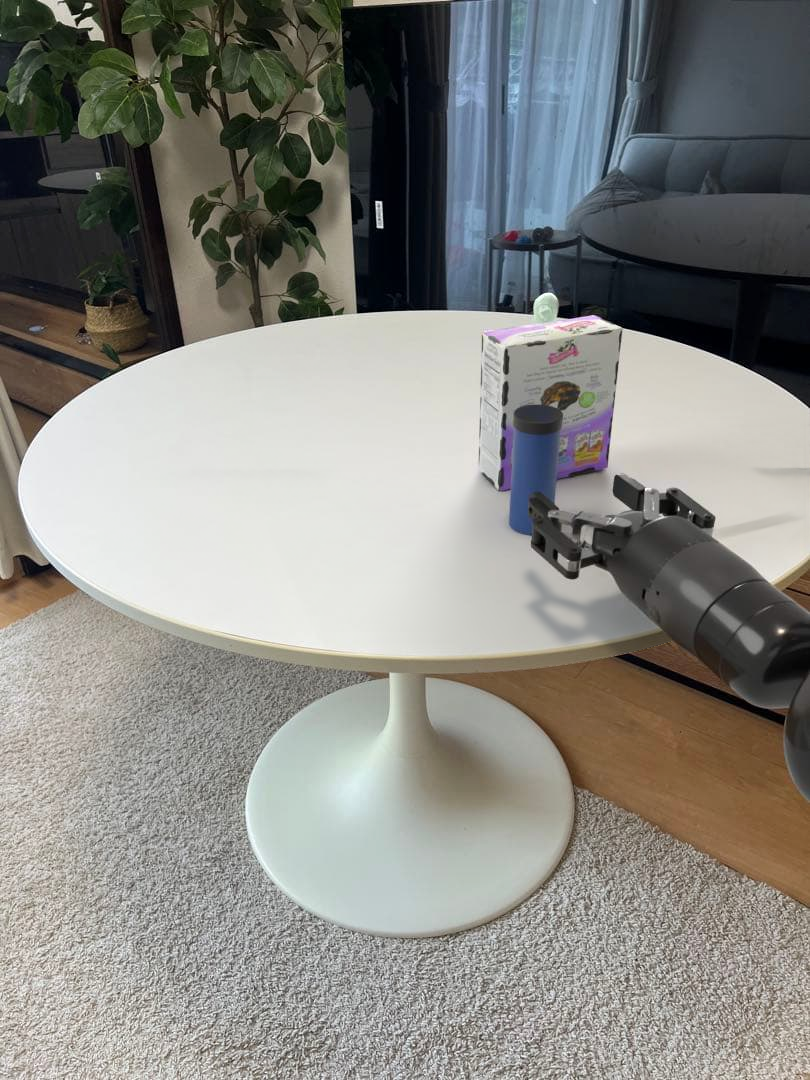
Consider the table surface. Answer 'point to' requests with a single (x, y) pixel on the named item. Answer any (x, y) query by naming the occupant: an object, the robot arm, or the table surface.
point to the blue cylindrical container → (533, 460)
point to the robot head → (545, 308)
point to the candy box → (549, 391)
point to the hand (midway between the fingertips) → (575, 491)
